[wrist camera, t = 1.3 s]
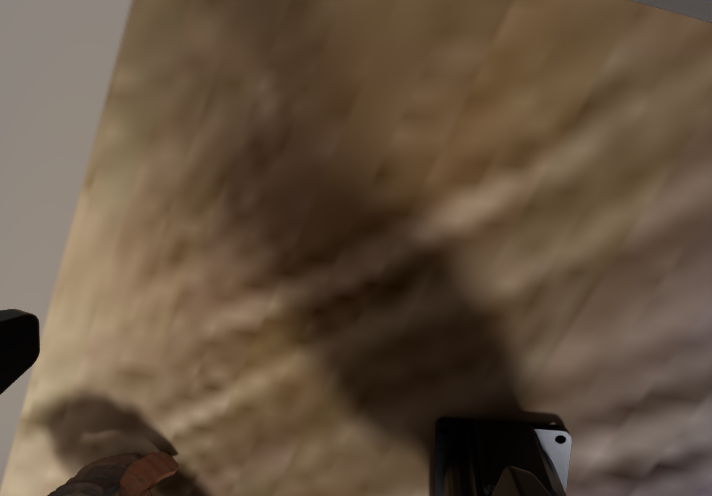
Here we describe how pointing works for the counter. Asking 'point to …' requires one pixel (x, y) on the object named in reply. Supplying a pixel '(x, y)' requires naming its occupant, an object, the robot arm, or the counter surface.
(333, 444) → the counter surface
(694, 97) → the counter surface
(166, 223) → the counter surface
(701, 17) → the switch strip
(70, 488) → the brown chain link decor
